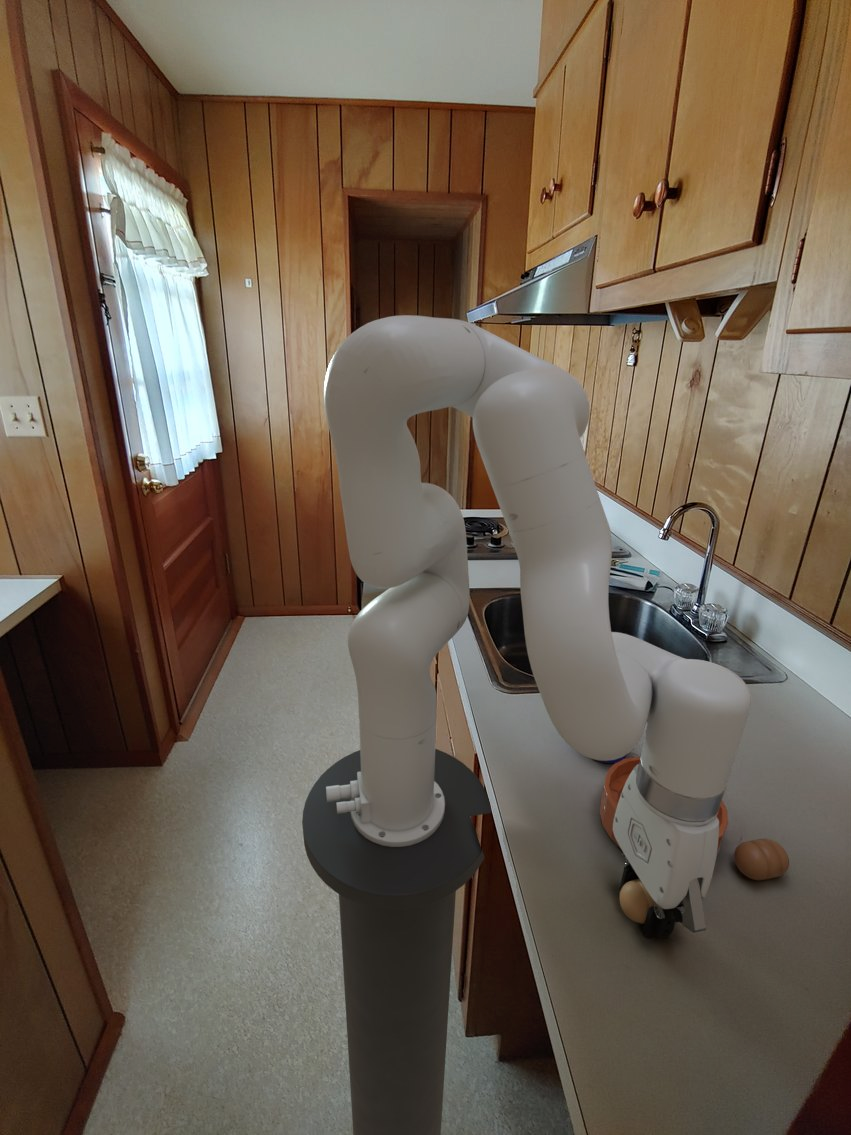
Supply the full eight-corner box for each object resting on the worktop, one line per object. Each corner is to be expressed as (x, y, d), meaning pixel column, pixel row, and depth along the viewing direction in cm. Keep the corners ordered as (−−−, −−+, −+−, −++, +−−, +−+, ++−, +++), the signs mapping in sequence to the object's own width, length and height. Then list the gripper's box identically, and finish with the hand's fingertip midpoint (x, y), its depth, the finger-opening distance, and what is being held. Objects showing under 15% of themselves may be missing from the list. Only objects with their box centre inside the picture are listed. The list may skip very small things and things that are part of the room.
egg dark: (747, 891, 62) (756, 866, 61) (723, 860, 66) (730, 836, 64) (792, 881, 64) (802, 857, 62) (765, 852, 67) (774, 828, 66)
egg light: (629, 935, 58) (635, 909, 56) (609, 899, 61) (615, 874, 60) (680, 924, 59) (687, 899, 57) (658, 890, 62) (665, 865, 61)
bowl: (637, 886, 63) (644, 855, 61) (580, 792, 75) (585, 763, 74) (744, 865, 66) (755, 835, 64) (672, 778, 78) (679, 750, 76)
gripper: (600, 730, 59) (577, 851, 67) (701, 866, 44) (658, 1003, 52) (662, 722, 61) (633, 841, 68) (780, 851, 46) (728, 986, 53)
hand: (644, 910), depth 60 cm, fingers closed on egg light, 4 cm apart
